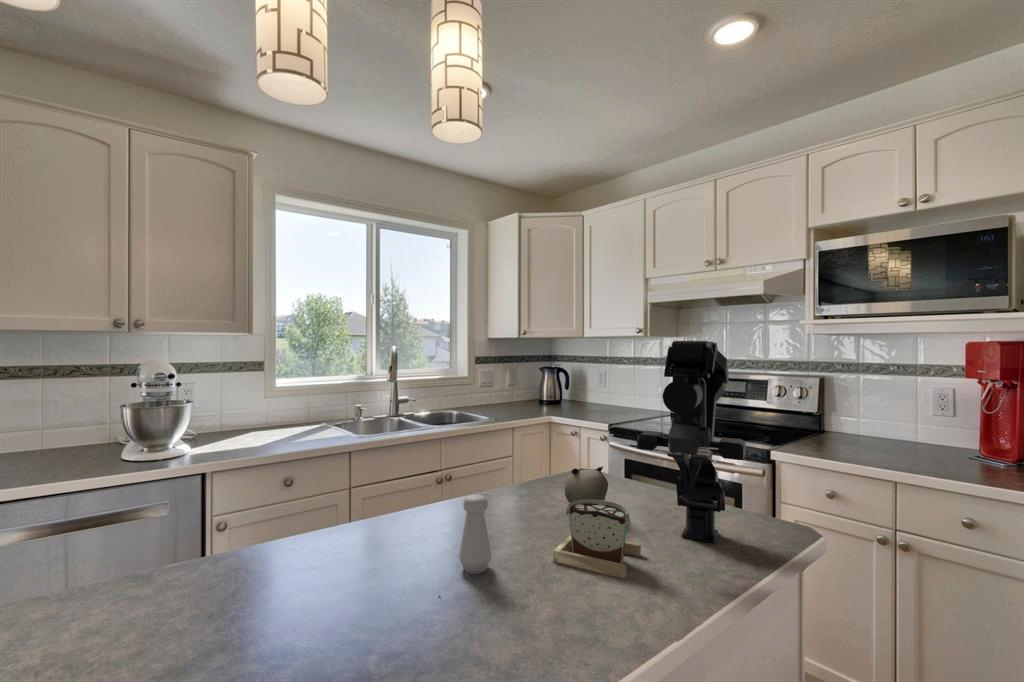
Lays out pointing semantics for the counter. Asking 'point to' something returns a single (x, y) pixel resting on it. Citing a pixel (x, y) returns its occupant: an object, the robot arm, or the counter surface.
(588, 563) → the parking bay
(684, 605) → the counter surface
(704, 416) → the robot arm
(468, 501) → the salt shaker
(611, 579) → the counter surface
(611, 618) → the counter surface
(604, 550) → the food container
